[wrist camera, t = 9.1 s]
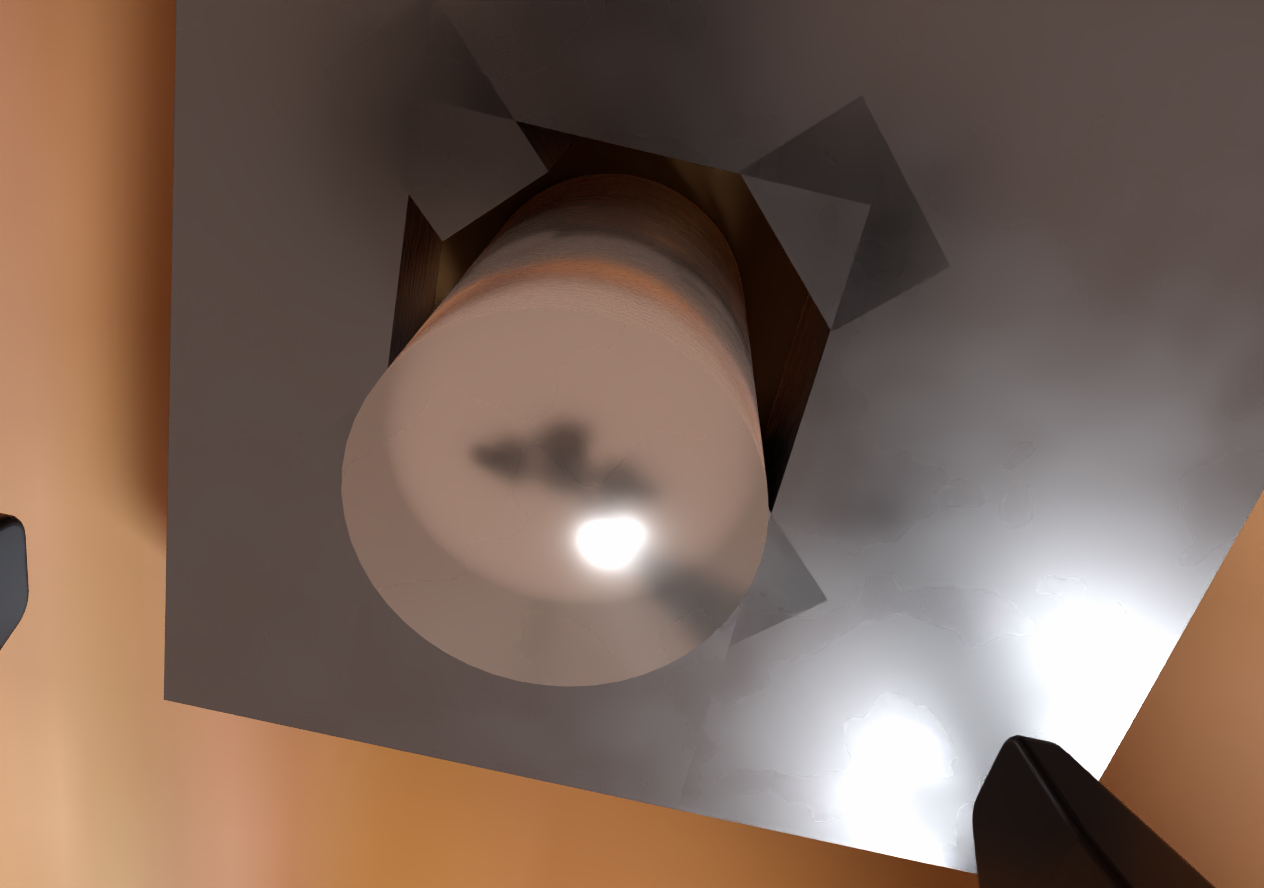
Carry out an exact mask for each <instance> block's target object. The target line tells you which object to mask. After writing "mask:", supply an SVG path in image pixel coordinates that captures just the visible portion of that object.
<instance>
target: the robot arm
mask: <svg viewBox="0 0 1264 888" xmlns="http://www.w3.org/2000/svg"><path fill="white" fill-rule="evenodd" d="M28 593H29V589H28V571H27V553H26V536H25V530H24V527H23V525H22V522H21V521H20V520H19V519H17V518H16V517H15V516H12V515H8V514H3V513H0V650H1V648H2V647H3V645H4V644H5V642H6V641H7V640H8V638H9V637H10V635H11V634H12V632H13V631H14V629H15V628H16V626H17V625H18V623H19V622H20V620H21V618H22V616H23V614H24V612H25V609H26V606H27V601H28ZM972 829H973V838H974V847H975V856H976V865H977V874H978V883H979V888H1215V887H1214V886H1213V885H1212V884H1211V883H1210V882H1209V881H1208V880H1206V879H1205V878H1204V877H1203V876H1202V875H1201V874H1200V873H1199V872H1198V871H1197V870H1195V869H1194V868H1193V867H1192V866H1191V865H1190V864H1189V863H1188V862H1187V861H1186V860H1185V859H1183V858H1182V857H1181V856H1180V855H1179V854H1178V853H1177V852H1176V851H1175V850H1174V849H1172V848H1171V847H1170V846H1169V845H1168V844H1167V843H1166V842H1165V841H1164V840H1163V839H1162V838H1160V837H1159V836H1158V835H1157V834H1156V833H1155V832H1154V831H1153V830H1152V829H1151V828H1149V827H1148V826H1147V825H1146V824H1145V823H1144V822H1143V821H1142V820H1141V819H1140V818H1138V817H1137V816H1136V815H1135V814H1134V813H1133V812H1132V811H1131V810H1130V809H1129V808H1128V807H1126V806H1125V805H1124V804H1123V803H1122V802H1121V801H1120V800H1119V799H1118V798H1117V797H1115V796H1114V795H1113V794H1112V793H1111V792H1110V791H1109V790H1108V789H1107V788H1106V787H1105V786H1103V785H1102V784H1101V783H1100V782H1099V781H1098V780H1097V779H1096V778H1095V777H1094V776H1092V775H1091V774H1090V773H1089V772H1088V771H1087V770H1086V769H1085V768H1084V767H1083V766H1082V765H1080V764H1079V763H1078V762H1077V761H1076V760H1075V759H1074V758H1073V757H1072V756H1071V755H1069V754H1068V753H1067V752H1066V751H1065V750H1064V749H1063V748H1062V747H1060V746H1059V745H1057V744H1055V743H1053V742H1049V741H1045V740H1040V739H1035V738H1031V737H1026V736H1022V735H1015V736H1012V737H1009V738H1008V739H1007V740H1006V741H1005V742H1004V744H1003V745H1002V747H1001V749H1000V751H999V753H998V755H997V757H996V759H995V761H994V763H993V765H992V767H991V769H990V771H989V773H988V775H987V777H986V779H985V781H984V783H983V785H982V787H981V789H980V791H979V793H978V795H977V797H976V800H975V803H974V807H973V813H972Z"/></svg>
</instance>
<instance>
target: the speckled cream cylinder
mask: <svg viewBox="0 0 1264 888" xmlns="http://www.w3.org/2000/svg"><path fill="white" fill-rule="evenodd" d="M341 493H342V501H343V510H344V517H345V521H346V525H347V528H348V532H349V536H350V540H351V542H352V545H353V547H354V549H355V552H356V554H357V557H358V559H359V561H360V564H361V565H362V567H363V569H364V571H365V572H366V574H367V576H368V577H369V579H370V581H371V583H372V584H373V586H374V587H375V588H376V590H377V591H378V592H379V594H380V595H381V596H382V598H383V599H384V600H385V602H386V603H387V604H388V605H389V606H390V608H391V609H392V610H393V611H394V612H395V613H396V614H397V615H398V616H399V617H400V618H401V619H402V620H403V621H404V622H405V623H406V624H407V625H408V626H410V627H411V628H412V629H413V630H414V631H416V632H417V633H418V634H419V635H420V636H422V637H423V638H424V639H425V640H427V641H428V642H430V643H432V644H433V645H435V646H436V647H438V648H439V649H441V650H442V651H444V652H445V653H447V654H449V655H451V656H453V657H455V658H457V659H459V660H460V661H462V662H464V663H466V664H468V665H471V666H473V667H476V668H478V669H481V670H483V671H486V672H489V673H491V674H494V675H498V676H501V677H505V678H509V679H512V680H516V681H521V682H527V683H533V684H539V685H549V686H567V687H571V686H591V685H600V684H606V683H612V682H619V681H622V680H626V679H630V678H633V677H637V676H641V675H644V674H646V673H649V672H651V671H654V670H656V669H659V668H661V667H664V666H666V665H668V664H670V663H672V662H673V661H675V660H677V659H679V658H681V657H682V656H684V655H686V654H688V653H689V652H691V651H692V650H693V649H695V648H696V647H697V646H699V645H700V644H701V643H703V642H704V641H706V640H707V639H708V638H709V637H710V636H711V635H712V634H713V633H714V632H715V631H716V630H718V629H719V628H720V627H721V626H722V625H723V624H724V623H725V622H726V620H727V619H728V618H729V617H730V615H731V614H732V613H733V612H734V610H735V609H736V608H737V607H738V605H739V604H740V602H741V601H742V599H743V597H744V596H745V594H746V592H747V591H748V589H749V587H750V585H751V584H752V582H753V579H754V577H755V574H756V572H757V569H758V567H759V564H760V562H761V559H762V554H763V550H764V546H765V542H766V538H767V528H768V516H769V507H768V491H767V481H766V473H765V465H764V457H763V448H762V440H761V432H760V424H759V416H758V407H757V399H756V391H755V383H754V375H753V366H752V358H751V350H750V342H749V334H748V326H747V317H746V309H745V301H744V293H743V286H742V281H741V276H740V272H739V269H738V266H737V263H736V260H735V257H734V255H733V253H732V251H731V249H730V247H729V245H728V243H727V241H726V239H725V238H724V236H723V235H722V233H721V232H720V231H719V229H718V228H717V226H716V225H715V224H714V223H713V222H712V220H711V219H710V218H709V217H708V216H707V215H706V214H705V213H704V212H703V211H702V210H701V209H700V208H699V207H697V206H696V205H695V204H694V203H692V202H691V201H690V200H689V199H687V198H686V197H684V196H682V195H681V194H679V193H678V192H676V191H674V190H673V189H670V188H668V187H666V186H664V185H662V184H659V183H657V182H654V181H651V180H647V179H644V178H641V177H636V176H630V175H624V174H595V175H585V176H581V177H577V178H573V179H569V180H566V181H563V182H561V183H558V184H556V185H553V186H551V187H549V188H547V189H545V190H544V191H542V192H540V193H538V194H537V195H535V196H534V197H532V198H531V199H530V200H529V201H527V202H526V203H525V204H523V205H522V206H521V207H520V208H519V209H518V210H517V211H516V212H515V213H514V214H513V215H512V216H511V217H510V218H509V219H508V221H507V222H506V223H505V224H504V226H503V227H502V228H501V229H500V230H499V232H498V233H497V234H496V235H495V237H494V238H493V239H492V240H491V242H490V243H489V244H488V245H487V247H486V248H485V249H484V250H483V251H482V253H481V254H480V255H479V256H478V258H477V259H476V260H475V261H474V263H473V264H472V265H471V266H470V268H469V269H468V270H467V271H466V272H465V274H464V275H463V276H462V277H461V279H460V280H459V281H458V282H457V284H456V285H455V286H454V287H453V289H452V290H451V291H450V292H449V294H448V295H447V296H446V297H445V298H444V300H443V301H442V302H441V303H440V305H439V306H438V307H437V308H436V310H435V311H434V312H433V313H432V315H431V316H430V317H429V318H428V319H427V321H426V322H425V323H424V324H423V326H422V327H421V328H420V329H419V331H418V332H417V333H416V334H415V336H414V337H413V338H412V339H411V340H410V342H409V343H408V344H407V345H406V347H405V348H404V349H403V350H402V352H401V353H400V354H399V355H398V357H397V358H396V359H395V360H394V361H393V363H392V364H391V365H390V366H389V368H388V369H387V370H386V371H385V373H384V374H383V375H382V376H381V378H380V379H379V380H378V382H377V383H376V384H375V386H374V387H373V389H372V390H371V391H370V393H369V394H368V395H367V397H366V398H365V400H364V402H363V404H362V406H361V408H360V410H359V412H358V414H357V416H356V418H355V419H354V422H353V425H352V428H351V431H350V434H349V437H348V440H347V443H346V448H345V454H344V459H343V465H342V488H341Z"/></svg>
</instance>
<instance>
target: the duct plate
mask: <svg viewBox="0 0 1264 888" xmlns="http://www.w3.org/2000/svg"><path fill="white" fill-rule="evenodd" d="M567 133H569V134H573V135H577V136H582V137H586V138H590V139H594V140H599V141H603V142H607V143H611V144H615V145H620V146H624V147H628V148H632V149H636V150H641V151H645V152H649V153H653V154H658V155H662V156H666V157H670V158H674V159H679V160H683V161H687V162H691V163H695V164H700V165H704V166H708V167H712V168H717V169H721V170H725V171H729V172H733V173H738V174H741V176H742V178H743V180H744V181H745V183H746V185H747V186H748V188H749V190H750V192H751V193H752V195H753V197H754V199H755V200H756V202H757V204H758V205H759V207H760V209H761V211H762V212H763V214H764V216H765V217H766V219H767V221H768V223H769V224H770V226H771V228H772V230H773V231H774V233H775V235H776V236H777V238H778V240H779V242H780V243H781V245H782V247H783V249H784V250H785V252H786V254H787V255H788V257H789V259H790V261H791V262H792V264H793V266H794V267H795V269H796V271H797V273H798V274H799V276H800V278H801V280H802V281H803V283H804V285H805V286H806V288H807V290H808V292H807V295H806V299H805V302H804V305H803V308H802V312H801V315H800V318H799V321H798V325H797V328H796V331H795V335H794V338H793V341H792V344H791V348H790V351H789V354H788V357H787V361H786V364H785V367H784V370H783V374H782V377H781V380H780V383H779V387H778V390H777V393H776V396H775V400H774V403H773V406H772V409H771V413H770V416H769V419H768V422H767V426H766V429H765V432H764V436H763V439H761V440H762V448H763V457H764V465H765V473H766V481H767V491H768V507H769V516H768V528H767V538H766V542H765V546H764V550H763V554H762V559H761V562H760V564H759V567H758V569H757V572H756V574H755V577H754V579H753V582H752V584H751V585H750V587H749V589H748V591H747V592H746V594H745V596H744V597H743V599H742V601H741V602H740V604H739V605H738V607H737V608H736V609H735V610H734V612H733V613H732V614H731V615H730V617H729V618H728V619H727V620H726V622H725V623H724V624H723V625H722V626H721V627H720V628H719V629H718V630H716V631H715V632H714V633H713V634H712V635H711V636H710V637H709V638H708V639H707V640H706V641H704V642H703V643H701V644H700V645H699V646H697V647H696V648H695V649H693V650H692V651H691V652H689V653H688V654H686V655H684V656H682V657H681V658H679V659H677V660H675V661H673V662H672V663H670V664H668V665H666V666H664V667H661V668H659V669H656V670H654V671H651V672H649V673H646V674H644V675H641V676H637V677H633V678H630V679H626V680H622V681H619V682H612V683H606V684H600V685H591V686H571V687H567V686H549V685H539V684H533V683H527V682H521V681H516V680H512V679H509V678H505V677H501V676H498V675H494V674H491V673H489V672H486V671H483V670H481V669H478V668H476V667H473V666H471V665H468V664H466V663H464V662H462V661H460V660H459V659H457V658H455V657H453V656H451V655H449V654H447V653H445V652H444V651H442V650H441V649H439V648H438V647H436V646H435V645H433V644H432V643H430V642H428V641H427V640H425V639H424V638H423V637H422V636H420V635H419V634H418V633H417V632H416V631H414V630H413V629H412V628H411V627H410V626H408V625H407V624H406V623H405V622H404V621H403V620H402V619H401V618H400V617H399V616H398V615H397V614H396V613H395V612H394V611H393V610H392V609H391V608H390V606H389V605H388V604H387V603H386V602H385V600H384V599H383V598H382V596H381V595H380V594H379V592H378V591H377V590H376V588H375V587H374V586H373V584H372V583H371V581H370V579H369V577H368V576H367V574H366V572H365V571H364V569H363V567H362V565H361V564H360V561H359V559H358V557H357V554H356V552H355V549H354V547H353V545H352V542H351V540H350V536H349V532H348V528H347V525H346V521H345V517H344V510H343V501H342V493H341V488H342V465H343V459H344V454H345V448H346V443H347V440H348V437H349V434H350V431H351V428H352V425H353V422H354V419H355V418H356V416H357V414H358V412H359V410H360V408H361V406H362V404H363V402H364V400H365V398H366V397H367V395H368V394H369V393H370V391H371V390H372V389H373V387H374V386H375V384H376V383H377V382H378V380H379V379H380V378H381V376H382V375H383V374H384V373H385V371H386V370H387V369H388V368H389V366H390V365H391V364H392V363H393V361H394V360H395V359H396V358H397V357H398V355H399V354H400V353H401V352H402V350H403V349H404V348H405V347H406V345H407V344H408V343H409V342H410V340H411V339H412V338H413V337H414V336H415V334H416V333H417V332H418V331H419V329H420V328H421V327H422V326H423V324H424V323H425V322H426V321H427V319H428V318H429V317H430V316H431V315H432V313H433V305H434V298H435V291H436V284H437V276H438V269H439V262H440V255H441V247H442V241H444V240H446V239H447V238H449V237H450V236H452V235H453V234H455V233H456V232H458V231H459V230H461V229H462V228H464V227H466V226H467V225H469V224H470V223H472V222H473V221H475V220H476V219H478V218H479V217H481V216H482V215H484V214H485V213H487V212H488V211H490V210H491V209H493V208H494V207H496V206H497V205H499V204H500V203H502V202H503V201H505V200H506V199H508V198H509V197H511V196H512V195H514V194H515V193H517V192H518V191H520V190H521V189H523V188H524V187H526V186H528V185H529V184H531V183H532V182H534V181H535V180H537V179H538V178H540V177H541V176H543V175H544V174H546V173H547V172H549V170H550V169H551V168H552V167H553V165H554V164H555V163H556V161H557V160H558V159H559V158H560V156H561V155H562V154H563V153H564V151H565V150H566V149H567V148H568V146H569V145H570V144H571V142H572V140H571V139H570V137H569V135H568V134H567ZM1263 489H1264V0H176V47H175V103H174V160H173V216H172V273H171V329H170V386H169V442H168V498H167V555H166V611H165V668H164V700H168V701H173V702H178V703H182V704H187V705H192V706H196V707H201V708H206V709H210V710H215V711H220V712H224V713H229V714H234V715H238V716H243V717H248V718H252V719H257V720H261V721H266V722H271V723H275V724H280V725H285V726H289V727H294V728H299V729H303V730H308V731H313V732H317V733H322V734H327V735H331V736H336V737H341V738H345V739H350V740H355V741H359V742H364V743H369V744H373V745H378V746H383V747H387V748H392V749H397V750H401V751H406V752H411V753H415V754H420V755H425V756H429V757H434V758H439V759H443V760H448V761H453V762H457V763H462V764H467V765H471V766H476V767H481V768H485V769H490V770H495V771H499V772H504V773H509V774H513V775H518V776H523V777H527V778H532V779H537V780H541V781H546V782H551V783H555V784H560V785H565V786H569V787H574V788H579V789H583V790H588V791H593V792H597V793H602V794H607V795H611V796H616V797H620V798H625V799H630V800H634V801H639V802H644V803H648V804H653V805H658V806H662V807H667V808H672V809H676V810H681V811H686V812H690V813H695V814H700V815H704V816H709V817H714V818H718V819H723V820H728V821H732V822H737V823H742V824H746V825H751V826H756V827H760V828H765V829H770V830H774V831H779V832H784V833H788V834H793V835H798V836H802V837H807V838H812V839H816V840H821V841H826V842H830V843H835V844H840V845H844V846H849V847H854V848H858V849H863V850H868V851H872V852H877V853H882V854H886V855H891V856H896V857H900V858H905V859H910V860H914V861H919V862H924V863H928V864H933V865H938V866H942V867H947V868H952V869H956V870H961V871H966V872H970V873H975V874H977V865H976V856H975V847H974V838H973V829H972V813H973V807H974V803H975V800H976V797H977V795H978V793H979V791H980V789H981V787H982V785H983V783H984V781H985V779H986V777H987V775H988V773H989V771H990V769H991V767H992V765H993V763H994V761H995V759H996V757H997V755H998V753H999V751H1000V749H1001V747H1002V745H1003V744H1004V742H1005V741H1006V740H1007V739H1008V738H1009V737H1012V736H1015V735H1022V736H1026V737H1031V738H1035V739H1040V740H1045V741H1049V742H1053V743H1055V744H1057V745H1059V746H1060V747H1062V748H1063V749H1064V750H1065V751H1066V752H1067V753H1068V754H1069V755H1071V756H1072V757H1073V758H1074V759H1075V760H1076V761H1077V762H1078V763H1079V764H1080V765H1082V766H1083V767H1084V768H1085V769H1086V770H1087V771H1088V772H1089V773H1090V774H1091V775H1092V776H1094V777H1095V778H1096V779H1097V780H1098V781H1099V780H1100V778H1101V776H1102V774H1103V773H1104V771H1105V769H1106V767H1107V765H1108V764H1109V762H1110V760H1111V758H1112V757H1113V755H1114V753H1115V751H1116V750H1117V748H1118V746H1119V744H1120V742H1121V741H1122V739H1123V737H1124V735H1125V734H1126V732H1127V730H1128V728H1129V726H1130V725H1131V723H1132V721H1133V719H1134V718H1135V716H1136V714H1137V712H1138V711H1139V709H1140V707H1141V705H1142V703H1143V702H1144V700H1145V698H1146V696H1147V695H1148V693H1149V691H1150V689H1151V688H1152V686H1153V684H1154V682H1155V680H1156V679H1157V677H1158V675H1159V673H1160V672H1161V670H1162V668H1163V666H1164V665H1165V663H1166V661H1167V659H1168V657H1169V656H1170V654H1171V652H1172V650H1173V649H1174V647H1175V645H1176V643H1177V642H1178V640H1179V638H1180V636H1181V634H1182V633H1183V631H1184V629H1185V627H1186V626H1187V624H1188V622H1189V620H1190V619H1191V617H1192V615H1193V613H1194V611H1195V610H1196V608H1197V606H1198V604H1199V603H1200V601H1201V599H1202V597H1203V595H1204V594H1205V592H1206V590H1207V588H1208V587H1209V585H1210V583H1211V581H1212V580H1213V578H1214V576H1215V574H1216V572H1217V571H1218V569H1219V567H1220V565H1221V564H1222V562H1223V560H1224V558H1225V557H1226V555H1227V553H1228V551H1229V549H1230V548H1231V546H1232V544H1233V542H1234V541H1235V539H1236V537H1237V535H1238V534H1239V532H1240V530H1241V528H1242V526H1243V525H1244V523H1245V521H1246V519H1247V518H1248V516H1249V514H1250V512H1251V511H1252V509H1253V507H1254V505H1255V503H1256V502H1257V500H1258V498H1259V496H1260V495H1261V493H1262V491H1263Z"/></svg>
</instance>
